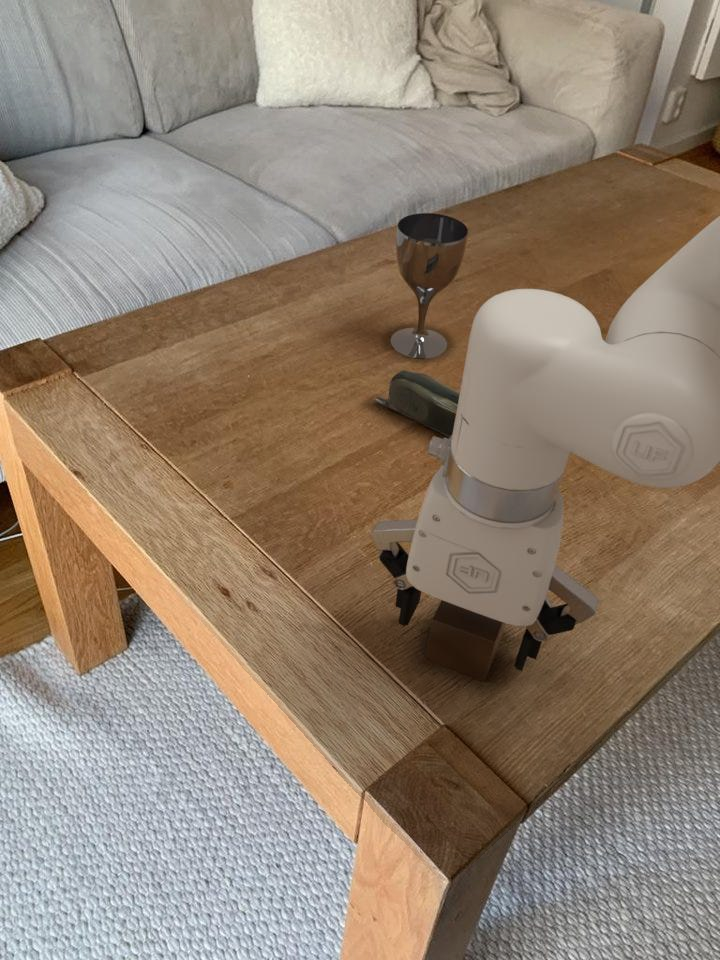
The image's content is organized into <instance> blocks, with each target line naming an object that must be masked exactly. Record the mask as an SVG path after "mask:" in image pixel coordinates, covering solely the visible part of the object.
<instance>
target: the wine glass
mask: <svg viewBox="0 0 720 960" xmlns="http://www.w3.org/2000/svg"><path fill="white" fill-rule="evenodd" d="M468 236H469V229H468V227H467V226H466V225H465V224H464V223H463V222H462V221H461V220H458V219H457V218H454V217H451V216H448V215H445V214H440V213H433V212H432V213H431V212H421V213H413V214H409V215H407V216H404V217H402V218H401V219H400V220H399V221H398V223H397V228H396V239H395V242H396V243H395V253H396V262H397V268H398V271H399V274H400V276H401V278H402V280H403V282H405V284H406V285H407V286H408V287H409V289H410V290H411V291H412V292H413V294H414V296H415V298H416V300H417V305H418V306H417V307H418V308H417V309H418V319H417V320H418V321H417V327H406V328H402V329H400V330H397V331H395V332H394V333H393V334H392V335H391V337H390V339H389V342H390V346H391V347H392V348H393V349H394V350H395V351H396V352H397V353H399V354H401V355H402V356H405V357H408V358H412V359H420V360H421V359H423V360H425V359H426V360H427V359H433V358H437V357H439V356H441V355H443V354H444V353H445V352H446V351H447V350H448V341H447V339H446V338H445V336H443V335H442V334H441V333H438V331H434V330H432V329H428V328H425V323H426V317H427V314H428V309H429V306H430V304H431V302H432V300H433V299H434V298H435V297H436V295H438V294H439V293H441V292H442V291H443V290H444V289H446V288H447V287H448V286H449V285H450V284H452V282H453V281H454V280H455V279H456V277H457V275H458V273H459V270H460V268H461V266H462V262H463V259H464V256H465V252H466V248H467V247H466V246H467V244H468V243H467V242H468Z"/></svg>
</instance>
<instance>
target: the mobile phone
mask: <svg viewBox="0 0 720 960" xmlns="http://www.w3.org/2000/svg"><path fill="white" fill-rule="evenodd" d="M459 396H460V391H457V390H455V389H453V388H452V387H450V386H448V385H446V384H445V383H443V382H442V381H439V380H438V379H436V378H434V377H432V376H430V375H427V374H426V373H422V372H413V371H410V370H401V371H399V372H397V373H396V374H395V375H393V377H391V380H390V382H389V386H388V398H387V399H384V398H382V397H379V396H377V397H376V398H375V399H374V403H377V404H379V405H381V406H383V407H385V408H388V409H391V410H392V411H395V412H398V413H399V414H401V415H403V416H405V417H407V418H408V419H412V420H414V421H415V422H417V423H419V424H421V425H423V426H425V427H427V428H429V429H432V430H434V431H436V432H438V433H440V434H442V435H443V436H444V437H446V438H450V436H451V435H452V434H453V429H454V423H455V418H456V412H457V407H458V401H459Z"/></svg>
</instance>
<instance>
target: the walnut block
mask: <svg viewBox="0 0 720 960" xmlns="http://www.w3.org/2000/svg"><path fill="white" fill-rule="evenodd" d="M506 624H507V623H504V622H501V621H498V620H495V619H492V618H489V617H486V616H484V615H481V614H478V613H475V612H473V611H470V610H467V609H464V608H462V607H459V606H456V605H454V604H451V603H448V602H446V601H443V600H440V602H439V604H438V606H437V609H436V611H435V613H434V615H433V616H432V619H431V624H430V630H429V635H428V641H427V646H426V651H425V657H424V659H425V660H427V661H429V662H432V663H434V664H437V665H439V666H442V667H445V668H447V669H450V670H453V671H455V672H458V673H461V674H462V675H465V676H468V677H471V678H473V679H476V680H478V681H481V682H484V683H485V682H486V679H487V677H488V674H489V671H490V669H491V666H492V664H493V662H494V661H493V660H494V659H495V656H496V654H497V651H498V648H499V645H500V643H501V640H502V638H503V635H504V630H505V627H506Z"/></svg>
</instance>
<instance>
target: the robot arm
mask: <svg viewBox="0 0 720 960" xmlns="http://www.w3.org/2000/svg"><path fill="white" fill-rule="evenodd" d="M459 392H460V396H459V401H458V407H457V412H456V418H455V423H454V429H453V434H452V435H451V436H450V438H449V437H446V436H444V437H443V438H442V437H438V436H436V435H433V436H432V438H431V439H430V441H429V445H428V448H427V455H428V456H432V457H435V458H437V459H436V460H438V461H440V462H441V466H440V467H439V469H438V470H437V471H436V472H435V474H433V477H432V478H431V481H430V482H429V485H428V487H427V490H426V492H425V495H424V498H423V500H422V504H421V507H420V509H419V513H418V517H417V518H416V519H415V518H414V519H397V520H396V519H394V520H392V519H391V520H379V521H377V522H376V523H375V525H374V526H373V528H372V530H371V531H370V538H371V540H372V542H373V544H374V547H375V549H376V551H377V552H379V556H378V557H379V561H380V562H381V564H382V565H383V566H384V567H385V569H386V570H387V571H388V572H389V573H390V575H392V577H393V578H394V579H392V584H393V586H394V587H395V588H396V589H397V591H396V598H395V605H394V607H395V608H398V609H400V611H399V617H398V625H400V626H402V627H406V626H409V624H410V622H411V620H412V618H413V616H414V614H415V612H416V610H417V609H418V606H419V603H420V602H421V596H422V593H423V594H426V595H428V596H430V597H433V598H436V599H438V600H440V601H441V600H443V601H446V602H448V603H451V604H454V605H456V606H459V607H462V608H464V609H467V610H470V611H473V612H475V613H478V614H481V615H484V616H486V617H489V618H492V619H495V620H498V621H501V622H504V623H506V624H507V625H511V626H515V627H525V631H524V634H523V637H522V639H521V643H520V646H519V649H518V652H517V655H516V658H515V662H514V664H513V667H515V670H518V671H520V672H523V670H524V667H525V665H526V661H527V658H530V659H534V660H537V658H538V655H539V652H540V649H541V646H542V643H543V642H546V641H548V638H549V636H552V635H556V634H557V635H558V634H561V633H565V632H566V633H567V632H570V631H572V630H574V629H575V626H577V625H578V624H582V623H584V622H585V621H587V620H589V619H590V618H592V617H593V616H595V615H596V611H597V608H598V604H599V598H598V597H597V596H596V595H594V594H593V593H592V592H591V591H590V590H588V588H586V587H585V586H584V585H582V584H581V583H580V582H578V581H577V580H576V579H575V578H573V577H572V576H571V575H570V574H568V573H567V572H566V571H565V570H564V569H562V568H561V567H560V566H558V565H557V561H558V556H559V551H560V548H561V547H560V546H561V540H562V534H563V527H564V516H565V515H564V514H565V508H564V507H565V501H564V499H565V498H564V495H563V493H562V491H561V489H560V486H561V484H562V480H563V477H564V474H565V470H566V467H567V464H568V460H569V457H570V454H573V455H575V456H577V457H579V458H581V459H583V460H584V461H587V462H589V463H590V464H593V465H594V466H596V467H598V468H599V469H602V470H604V471H606V472H608V473H609V474H612V475H614V476H617V477H619V478H621V479H623V480H626V481H629V482H632V483H634V484H637V485H642V486H647V487H651V488H656V489H657V488H658V489H659V488H660V489H673V488H679V487H684V486H687V485H690V484H693V483H696V482H698V481H699V480H702V478H705V477H706V476H707V475H708V474H709V473H710V472H712V471H713V470H714V469H715V467H716V466H717V465H718V463H719V462H720V215H719V216H717V217H716V218H715V219H714V220H712V221H711V222H710V223H709V224H707V225H706V226H705V227H704V228H703V229H702V230H701V231H699V232H698V233H697V234H696V235H695V236H693V238H691V239H690V240H689V241H688V242H687V243H685V244H684V245H683V246H682V247H681V248H680V249H679V250H678V251H677V252H675V254H674V255H672V257H670V258H669V259H667V261H666V262H665V263H664V264H663V265H662V266H660V267H659V268H658V269H657V270H656V271H655V272H654V273H652V274H651V276H649V277H648V278H647V279H646V280H645V281H644V282H643V283H642V284H641V285H639V287H638V288H636V290H634V292H633V293H632V294H631V295H630V296H629V297H628V298H627V300H626V301H624V303H623V304H622V306H621V307H620V308H619V310H618V311H617V313H616V315H615V316H614V318H613V320H612V321H611V323H610V325H609V328H608V331H607V333H606V336H605V340H604V339H603V337H602V331H601V327H600V325H599V323H598V320H597V319H596V317H595V315H594V314H593V313H592V312H591V311H589V309H587V308H586V307H585V306H584V305H583V304H581V303H580V302H578V301H577V300H575V299H573V298H571V297H568V296H566V295H564V294H562V293H558V292H554V291H550V290H545V289H538V288H516V289H511V290H506V291H503V292H501V293H500V292H499V293H498V294H495V295H493V296H491V297H490V298H488V300H486V301H485V302H484V303H483V304H482V305H481V306H480V307H479V309H478V310H477V312H476V314H475V316H474V318H473V321H472V324H471V329H470V333H469V338H468V343H467V350H466V356H465V361H464V368H463V372H462V379H461V383H460V390H459ZM400 543H410V549H409V553H407V551H406V550H405V549H404V548H403V546H402V545H401V544H400ZM549 591H550V592H551V593H553V594H554V595H555V596H556V597H558V598H559V599H560V600H561V601H563V602H564V603H563V604H560V605H556V606H554V604H553V603H552V602H551V599H550V598H549V596H548V592H549Z"/></svg>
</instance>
